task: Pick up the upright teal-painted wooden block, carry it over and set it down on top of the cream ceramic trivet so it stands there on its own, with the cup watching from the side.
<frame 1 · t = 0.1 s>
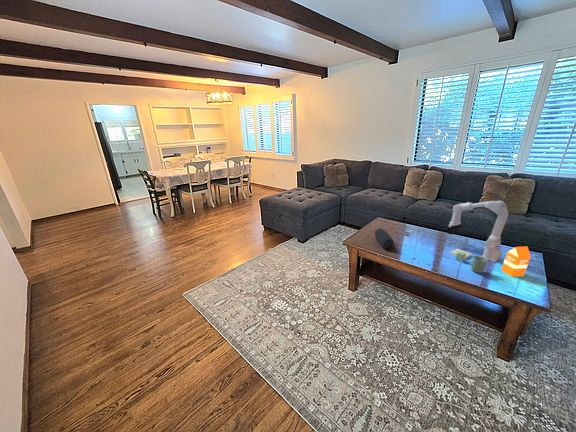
hand: (452, 233, 200), 10 cm above the table, fingers open, 7 cm apart
cup: (476, 271, 164), on the table
portable speaker: (383, 243, 208), on the table
trivet: (460, 255, 186), on the table
orange juice: (512, 273, 161), on the table
block: (459, 260, 178), on the table
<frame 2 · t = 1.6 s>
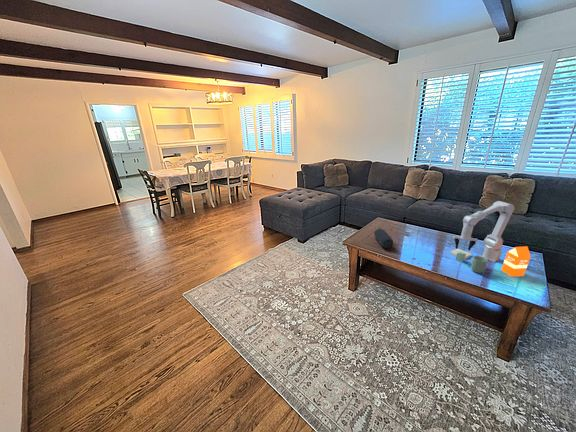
hand: (462, 249, 175), 9 cm above the table, fingers open, 7 cm apart
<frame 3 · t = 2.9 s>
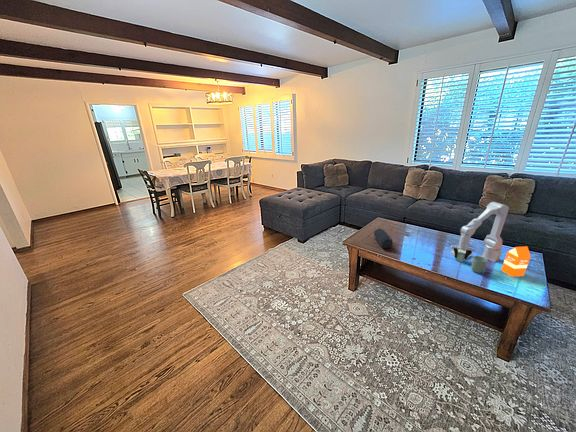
hand: (460, 258, 178), 2 cm above the table, fingers closed on block, 6 cm apart
block: (459, 260, 178), on the table, touching gripper
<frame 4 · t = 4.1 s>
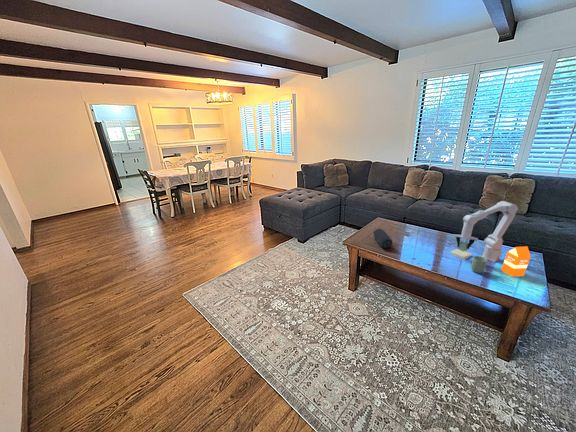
hand: (462, 247, 178), 9 cm above the table, fingers closed on block, 6 cm apart
block: (462, 249, 179), point 7 cm above the table, touching gripper
when the fingers open (5 cm above the table, at t = 5.7 s): block drops 1 cm, point 2 cm above the table.
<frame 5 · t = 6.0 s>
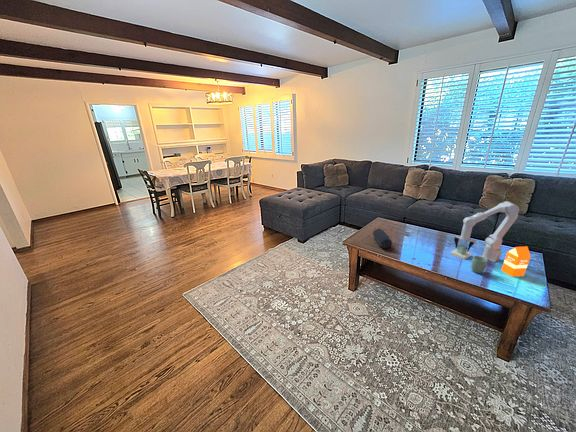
hand: (462, 248, 184), 5 cm above the table, fingers open, 7 cm apart
block: (461, 252, 185), point 2 cm above the table
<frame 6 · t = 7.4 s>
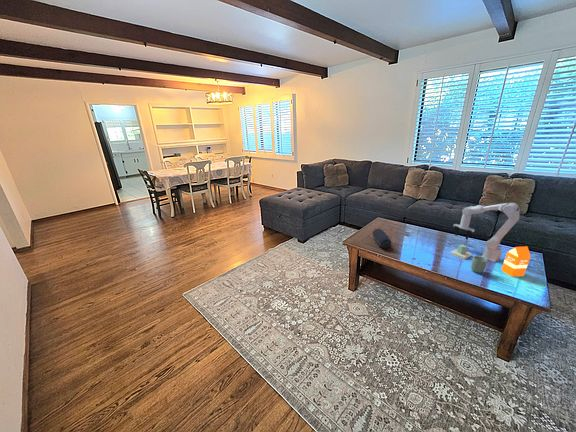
hand: (461, 237, 193), 10 cm above the table, fingers open, 7 cm apart
trivet: (460, 255, 186), on the table, touching block
block: (461, 252, 185), point 2 cm above the table, touching trivet
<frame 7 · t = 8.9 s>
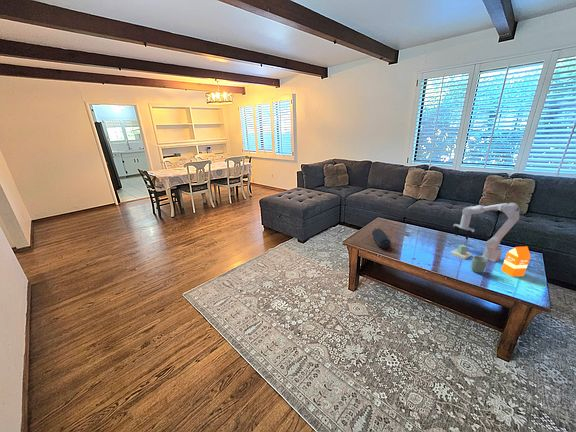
hand: (461, 237, 193), 10 cm above the table, fingers open, 7 cm apart
trivet: (460, 255, 186), on the table
block: (460, 252, 185), point 2 cm above the table
at the end: block inside the target area on the trivet (0.4 cm from its centre), point 2.7 cm above the trivet's base; block tilted 0°; block touching nothing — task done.
